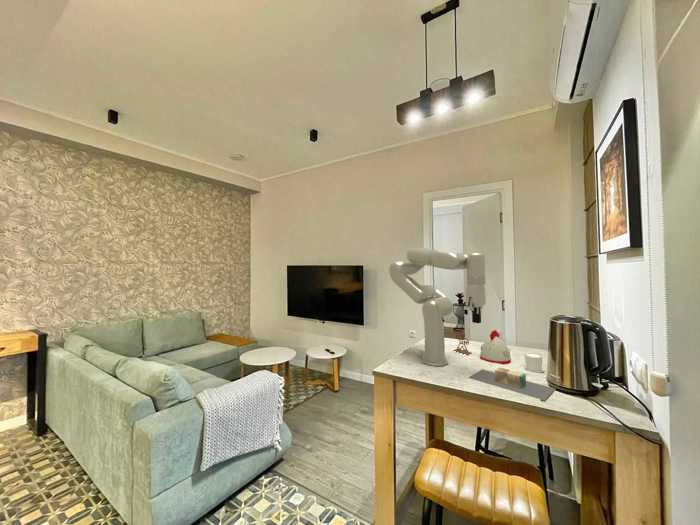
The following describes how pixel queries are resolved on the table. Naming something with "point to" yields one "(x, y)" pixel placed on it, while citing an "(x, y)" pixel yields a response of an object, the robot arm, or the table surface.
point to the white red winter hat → (495, 350)
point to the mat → (529, 389)
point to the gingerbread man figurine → (463, 344)
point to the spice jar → (510, 377)
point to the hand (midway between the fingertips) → (476, 322)
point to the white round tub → (533, 362)
